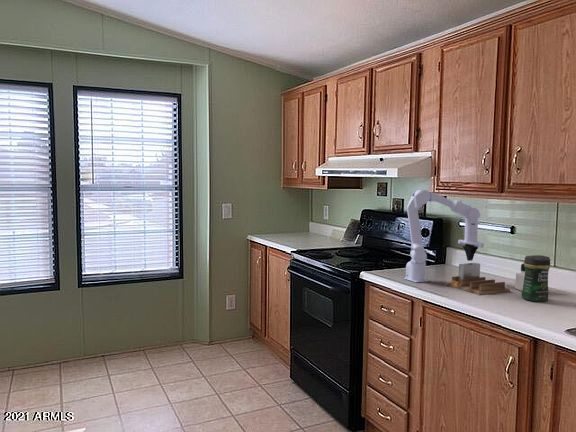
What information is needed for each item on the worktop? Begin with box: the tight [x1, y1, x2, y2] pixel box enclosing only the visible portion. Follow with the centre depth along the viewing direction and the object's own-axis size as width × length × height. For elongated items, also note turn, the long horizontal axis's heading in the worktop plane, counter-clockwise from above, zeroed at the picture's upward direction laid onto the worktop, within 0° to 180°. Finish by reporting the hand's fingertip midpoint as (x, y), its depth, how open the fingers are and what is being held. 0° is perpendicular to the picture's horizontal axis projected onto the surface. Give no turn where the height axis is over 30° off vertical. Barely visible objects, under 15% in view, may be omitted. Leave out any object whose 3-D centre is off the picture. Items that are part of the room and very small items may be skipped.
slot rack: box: [446, 276, 511, 295], centre depth 220 cm, size 20×18×4 cm
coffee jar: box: [521, 254, 551, 303], centre depth 200 cm, size 10×8×19 cm
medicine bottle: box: [514, 262, 525, 292], centre depth 217 cm, size 7×7×12 cm
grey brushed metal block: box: [458, 262, 481, 284], centre depth 225 cm, size 3×10×9 cm, turn 113°
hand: (469, 260), depth 233 cm, fingers closed
